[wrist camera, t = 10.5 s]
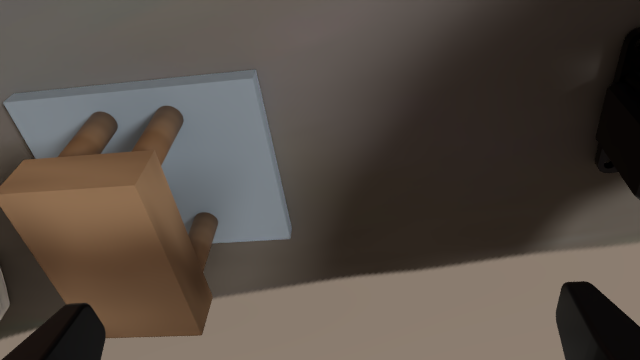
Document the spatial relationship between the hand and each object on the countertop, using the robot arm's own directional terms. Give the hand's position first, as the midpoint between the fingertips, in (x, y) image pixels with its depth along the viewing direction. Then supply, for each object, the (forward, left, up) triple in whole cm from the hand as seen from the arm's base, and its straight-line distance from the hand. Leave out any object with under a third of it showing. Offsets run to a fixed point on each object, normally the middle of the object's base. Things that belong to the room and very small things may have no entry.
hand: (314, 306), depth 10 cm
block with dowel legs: (+9, +5, -12) cm, 16 cm away
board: (+9, +5, -13) cm, 17 cm away
